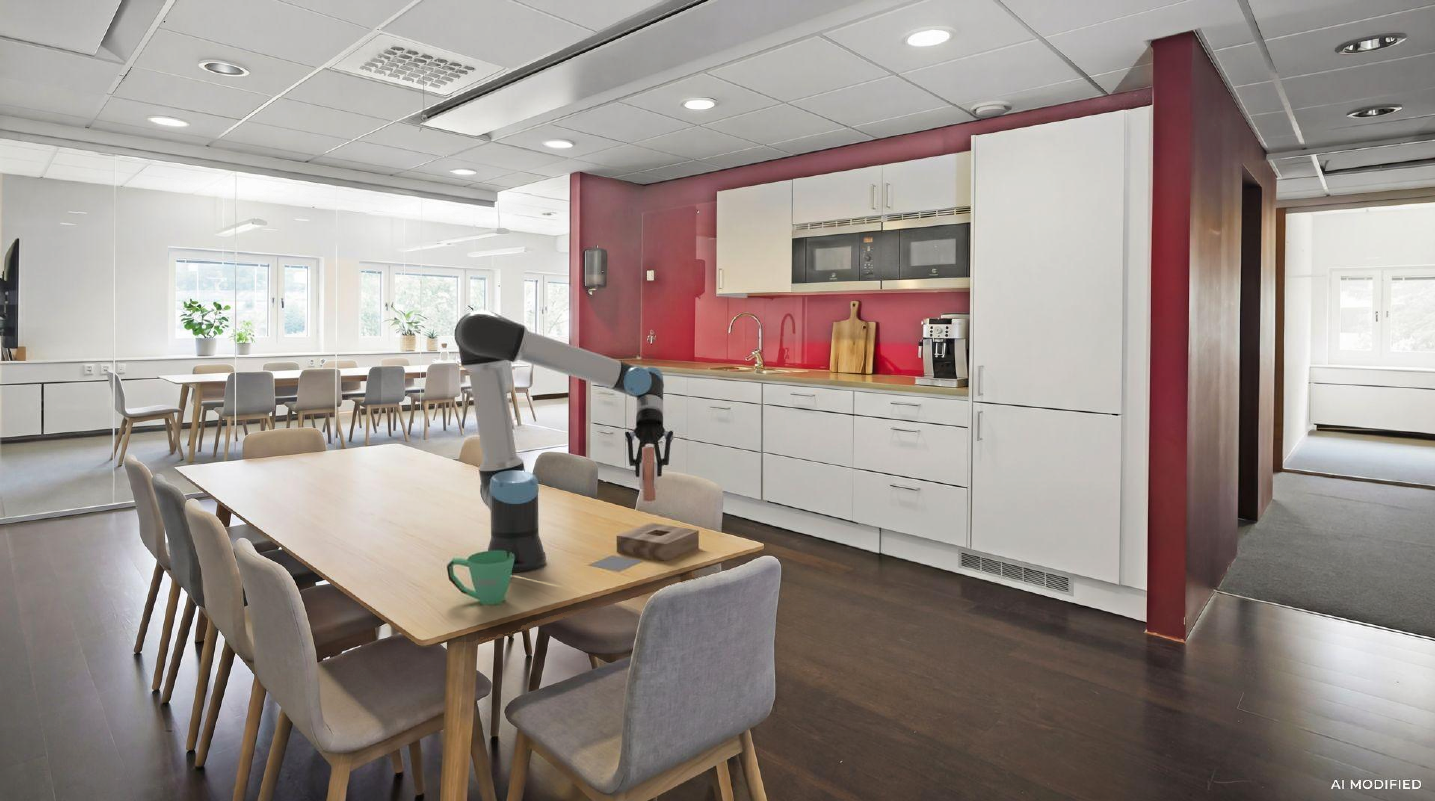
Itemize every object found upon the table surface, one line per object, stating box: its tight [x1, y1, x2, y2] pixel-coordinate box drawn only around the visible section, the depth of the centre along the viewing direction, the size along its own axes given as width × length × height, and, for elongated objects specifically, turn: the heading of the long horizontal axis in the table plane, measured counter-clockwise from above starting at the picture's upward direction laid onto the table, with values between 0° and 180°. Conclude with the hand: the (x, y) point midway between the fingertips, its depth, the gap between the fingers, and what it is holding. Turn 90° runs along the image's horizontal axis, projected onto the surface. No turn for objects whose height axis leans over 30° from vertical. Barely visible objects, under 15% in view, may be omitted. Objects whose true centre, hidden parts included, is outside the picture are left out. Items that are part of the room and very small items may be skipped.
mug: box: [446, 550, 514, 606], centre depth 163 cm, size 15×10×10 cm
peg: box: [641, 446, 656, 502], centre depth 197 cm, size 3×3×14 cm
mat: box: [588, 554, 644, 572], centre depth 190 cm, size 10×10×1 cm
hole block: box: [616, 522, 700, 562], centre depth 202 cm, size 16×16×5 cm
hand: (648, 486), depth 193 cm, fingers closed on peg, 3 cm apart
